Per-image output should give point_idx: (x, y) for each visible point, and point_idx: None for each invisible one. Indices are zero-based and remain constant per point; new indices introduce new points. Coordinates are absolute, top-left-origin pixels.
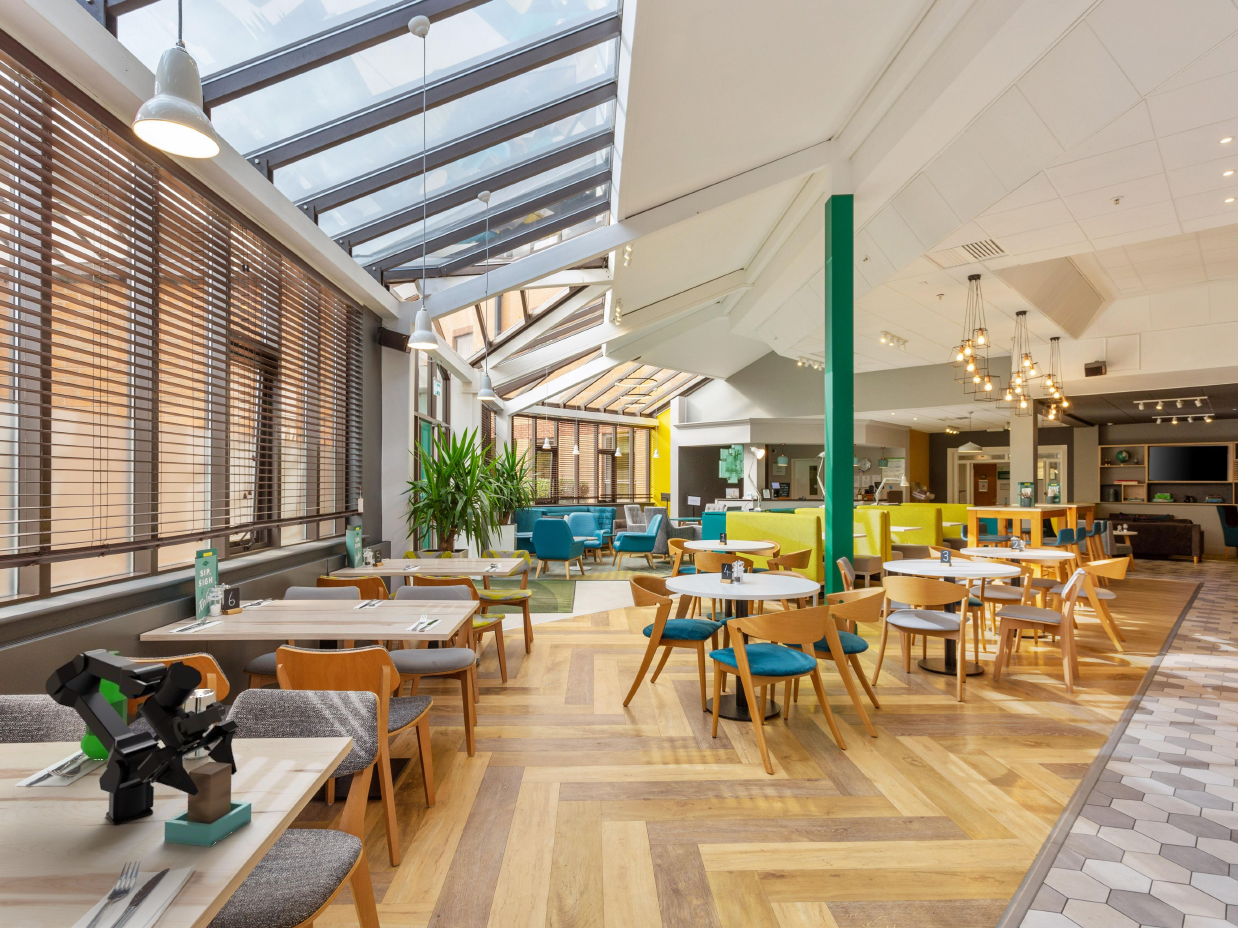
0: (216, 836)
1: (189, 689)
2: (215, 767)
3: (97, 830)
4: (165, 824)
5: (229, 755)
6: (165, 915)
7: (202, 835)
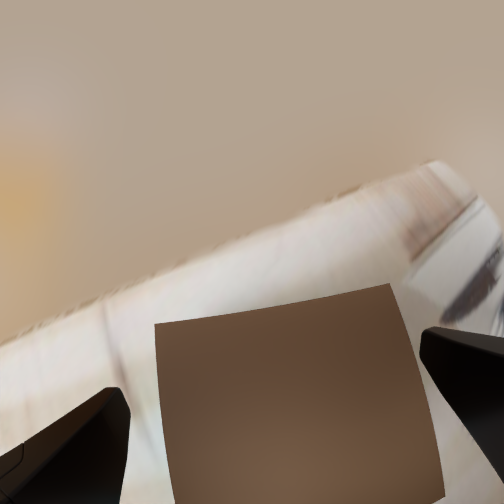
0: None
1: None
2: (277, 391)
3: None
4: None
5: (49, 450)
6: (471, 193)
7: None
